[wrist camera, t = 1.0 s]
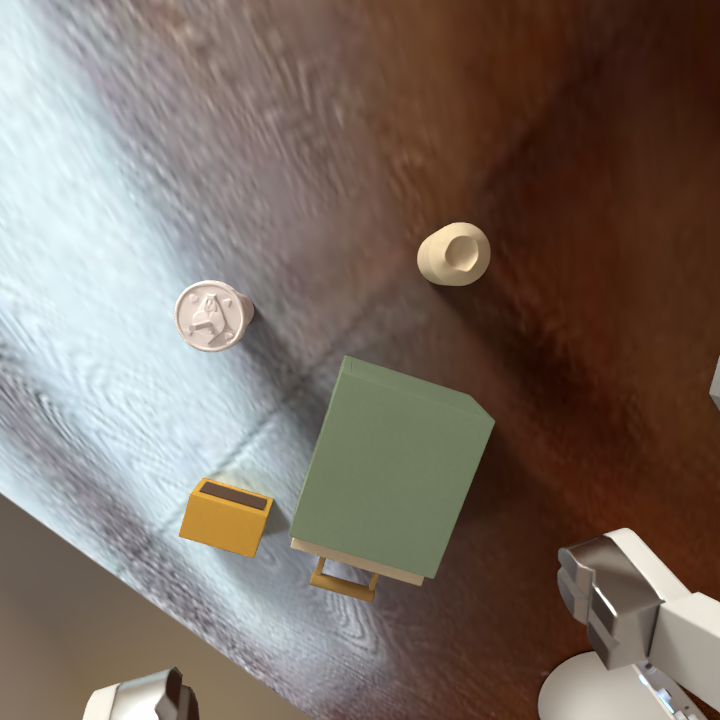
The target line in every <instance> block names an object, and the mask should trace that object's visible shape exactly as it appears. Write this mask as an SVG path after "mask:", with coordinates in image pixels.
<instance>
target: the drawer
mask: <svg viewBox="0 0 720 720" xmlns="http://www.w3.org/2000/svg"><path fill="white" fill-rule="evenodd" d="M291 548H294V549H297V550H300V551H304V552H307V553H310V554H314V555H317V556H320V559H319V562H318V564H317V567H316V570H315V571H313V572H312V575H311V579H310V583H309V584H310V585H313V586H316V587H319V588H323V589H326V590H330V591H333V592H337V593H340V594H343V595H347V596H350V597H354V598H357V599H360V600H364V601H367V602H371V603H372V602H373V599H374V596H375V589H374V588H375V586H376V583H377V580H378V578H379V575H380V574H381V575H385V576H388V577H391V578H395V579H398V580H401V581H405V582H408V583H412V584H415V585H418V586H421V584H422V582H423V579H424V577H425V576H421V575H418V574H415V573H411V572H408V571H405V570H401V569H398V568H394V567H391V566H388V565H384V564H381V563H378V562H374V561H371V560H368V559H364V558H361V557H358V556H354V555H351V554H348V553H344V552H341V551H337V550H334V549H331V548H327V547H324V546H321V545H317V544H314V543H311V542H307V541H304V540H301V539H297V538H294V537H293V539H292V543H291ZM326 558H327V559H331V560H334V561H337V562H341V563H344V564H348V565H351V566H354V567H358V568H361V569H364V570H368V571H371V572H373V575H372V578H371V580H370V583H369V586H368V587H367V586H364V585H360V584H357V583H353V582H350V581H347V580H343V579H340V578H336V577H333V576H330V575H326V574H323V573H321V572H322V569H323V566H324V563H325V560H326Z"/></svg>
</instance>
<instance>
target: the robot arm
mask: <svg viewBox="0 0 720 720" xmlns="http://www.w3.org/2000/svg"><path fill="white" fill-rule="evenodd" d="M558 560H559V561H560V563H561V564H562V567H561V569H560V570H559V571H558V572H557V582H558V586H559V590H560V593H561V596H562V598H563V600H564V602H565V604H566V606H567V608H568V610H569V611H570V613H571V614H572V616H573V618H575V619H576V620H578V621H580V622H581V623H583V624H585V625H587V639H588V641H589V643H590V644H591V646H592V647H593V649H594V650H595V651H594V652H587V653H583V654H580V655H577V656H575V657H572V658H570V659H568V660H566V661H565V662H563V663H562V664H560V665H559V666H558V667H557V668H556V669H555V670H554V671H553V672H552V673H551V674H550V675H549V676H548V678H547V679H546V680H545V682H544V684H543V686H542V688H541V691H540V694H539V699H538V711H539V716H540V719H541V720H708V719H707V718H706V716H705V715H704V714H703V713H702V712H701V710H700V709H699V708H698V707H697V706H696V705H695V703H694V702H693V701H692V700H691V699H690V698H689V696H688V695H687V694H686V693H685V692H684V691H683V689H682V688H681V687H680V686H679V685H678V684H677V683H679V684H680V685H682V686H683V687H684V688H686V689H687V690H689V691H690V692H691V693H693V694H694V695H696V696H697V697H699V698H700V699H701V700H703V701H704V702H706V703H707V704H708V705H710V706H711V707H713V708H714V709H716V710H717V711H718V712H720V602H718V601H716V600H714V599H712V598H710V597H708V596H706V595H704V594H702V593H700V592H697V593H694V594H691V592H690V591H689V590H688V589H687V588H686V587H685V586H684V585H683V584H682V583H681V582H680V581H679V580H678V578H677V577H676V576H675V575H674V574H673V573H672V572H671V571H670V570H669V569H668V568H667V567H666V566H665V564H664V563H663V562H662V561H661V560H660V559H659V558H658V557H657V556H656V555H655V554H654V553H653V552H652V551H651V549H650V548H649V547H648V546H647V545H646V544H645V543H644V542H643V541H642V540H641V539H640V538H639V537H638V535H637V534H636V533H635V532H634V531H632V530H630V529H629V528H622V529H619V530H616V531H612V532H609V533H606V534H601V535H598V536H595V537H592V538H589V539H586V540H583V541H580V542H577V543H574V544H571V545H568V546H565V547H562V548H561V549H560V550H559V551H558ZM182 676H183V675H182V674H181V673H180V672H179V670H178V669H177V668H176V667H173V668H170V669H167V670H163V671H160V672H157V673H153V674H150V675H147V676H143V677H140V678H137V679H134V680H130V681H127V682H122V683H119V684H116V685H112V686H109V687H106V688H103V689H100V690H97V691H94V693H93V694H92V696H91V698H90V699H89V701H88V703H87V706H86V710H85V713H84V717H83V720H199V711H198V710H199V709H198V702H197V699H196V696H195V693H194V692H193V690H192V689H191V688H190V687H188V686H185V685H182Z"/></svg>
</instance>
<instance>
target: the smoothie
mask: <svg viewBox="0 0 720 720" xmlns="http://www.w3.org/2000/svg"><path fill="white" fill-rule="evenodd" d="M253 316H254V307H253V304H252V302H251V300H250V299H249V298H248V297H246V296H245V295H243V294H240V293H238V292H237V291H236V290H235V289H233V288H232V287H231V286H229V285H227V284H225V283H222V282H218V281H203V282H199V283H196V284H193V285H191V286H190V287H188V288H187V289H186V290H185V291H184V292H183V293H182V294H181V295H180V297H179V298H178V300H177V303H176V306H175V310H174V320H175V325H176V328H177V330H178V332H179V334H180V335H181V337H182V338H183V339H184V340H185V341H186V342H187V343H188V344H189V345H190V346H192V347H194V348H195V349H198V350H200V351H204V352H219V351H222V350H226V349H229V348H230V347H232V346H234V345H235V344H236V343H237V342H238V341H239V340H240V339H241V338H242V337H243V335H244V333H245V331H246V328H247V325H248V324H249V323H250V321H251V320H252V318H253Z"/></svg>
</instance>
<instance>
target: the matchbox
mask: <svg viewBox="0 0 720 720" xmlns="http://www.w3.org/2000/svg"><path fill="white" fill-rule="evenodd" d="M273 500H274V499H272V498H269V497H266V496H262V495H259V494H256V493H252V492H249V491H246V490H243V489H239V488H236V487H233V486H229V485H226V484H223V483H219V482H216V481H213V480H209V479H206V478H202V480H201V481H200V482H199V484H198V485H197V486H196V487H195V489H194V490H193V491H192V493H191V494H190V497H189V501H188V504H187V508H186V511H185V515H184V518H183V522H182V525H181V529H180V532H179V537H183V538H186V539H189V540H193V541H196V542H200V543H203V544H206V545H210V546H213V547H217V548H220V549H223V550H227V551H230V552H234V553H237V554H240V555H244V556H247V557H251V558H254V556H255V554H256V551H257V548H258V546H259V543H260V540H261V538H262V535H263V531H264V528H265V525H266V522H267V519H268V516H269V513H270V509H271V506H272V503H273Z"/></svg>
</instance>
